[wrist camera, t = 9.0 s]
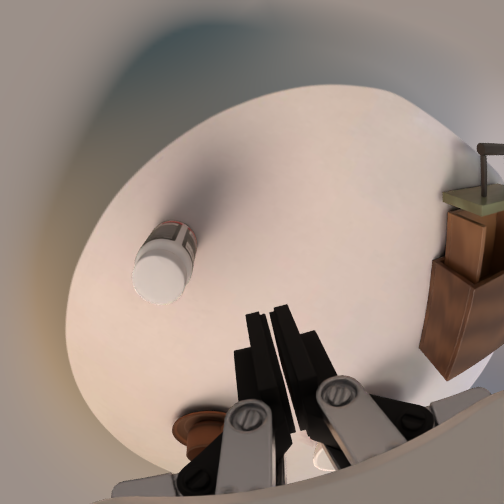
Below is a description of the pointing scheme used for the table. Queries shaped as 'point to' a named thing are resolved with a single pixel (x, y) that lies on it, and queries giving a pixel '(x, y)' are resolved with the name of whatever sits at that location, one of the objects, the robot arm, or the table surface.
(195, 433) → the cup and saucer
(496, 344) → the cabinet
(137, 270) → the pill bottle
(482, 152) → the drawer
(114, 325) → the table surface
